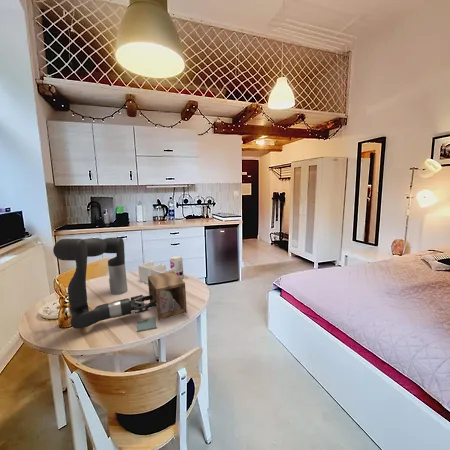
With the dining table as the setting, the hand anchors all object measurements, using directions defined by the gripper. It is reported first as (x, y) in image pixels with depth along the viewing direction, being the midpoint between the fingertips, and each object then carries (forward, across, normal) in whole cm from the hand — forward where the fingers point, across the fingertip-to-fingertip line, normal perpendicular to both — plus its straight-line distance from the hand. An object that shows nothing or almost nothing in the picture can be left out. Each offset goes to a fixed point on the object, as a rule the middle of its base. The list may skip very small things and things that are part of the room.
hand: (154, 300), depth 128 cm
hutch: (+6, 0, +6) cm, 8 cm away
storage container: (+10, +38, +6) cm, 40 cm away
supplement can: (+23, +38, +6) cm, 45 cm away
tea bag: (+6, 0, +6) cm, 9 cm away
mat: (-6, -11, +6) cm, 14 cm away
